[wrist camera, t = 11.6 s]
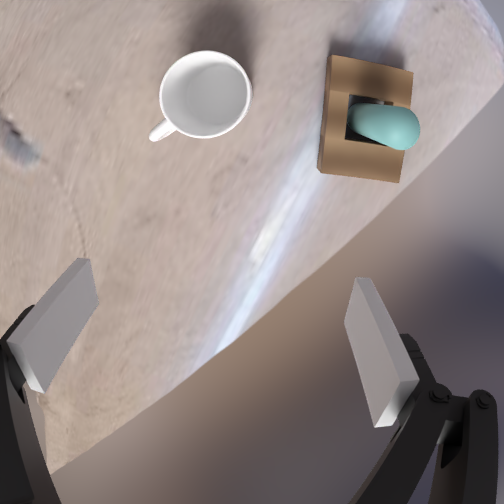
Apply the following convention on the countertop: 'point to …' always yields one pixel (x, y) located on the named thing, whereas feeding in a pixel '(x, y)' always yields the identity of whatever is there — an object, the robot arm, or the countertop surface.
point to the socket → (335, 117)
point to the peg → (385, 124)
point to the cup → (203, 96)
